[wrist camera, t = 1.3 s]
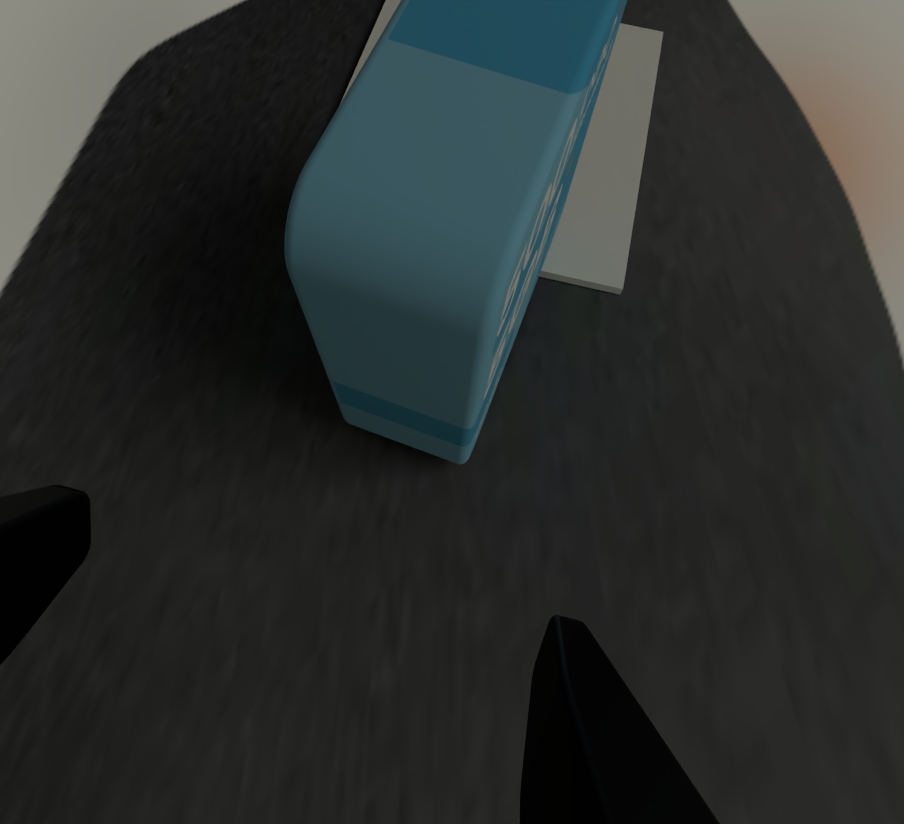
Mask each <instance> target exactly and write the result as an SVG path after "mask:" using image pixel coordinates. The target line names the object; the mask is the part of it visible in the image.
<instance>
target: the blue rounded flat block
mask: <svg viewBox="0 0 904 824" xmlns="http://www.w3.org/2000/svg"><path fill="white" fill-rule="evenodd" d="M626 2H627V0H401V1H400V3H399V5H398V7H397V8H396V10H395V12H394V13H393V15H392V17H391V19H390V20H389V22H388V24H387V25H386V27H385V29H384V31H383V32H382V34H381V36H380V37H379V39H378V41H377V42H376V44H375V46H374V48H373V49H372V51H371V53H370V54H369V56H368V58H367V60H366V61H365V63H364V65H363V66H362V68H361V70H360V71H359V73H358V75H357V77H356V78H355V80H354V82H353V83H352V85H351V87H350V89H349V90H348V92H347V94H346V95H345V97H344V99H343V100H342V102H341V104H340V106H339V107H338V109H337V111H336V112H335V114H334V116H333V118H332V119H331V121H330V123H329V124H328V126H327V128H326V129H325V131H324V133H323V135H322V136H321V138H320V140H319V141H318V143H317V145H316V147H315V148H314V150H313V152H312V153H311V155H310V157H309V158H308V160H307V162H306V164H305V166H304V167H303V169H302V171H301V174H300V176H299V178H298V180H297V183H296V186H295V188H294V191H293V195H292V198H291V201H290V205H289V209H288V214H287V220H286V227H285V239H284V251H285V261H286V266H287V270H288V273H289V276H290V279H291V281H292V284H293V286H294V289H295V292H296V294H297V297H298V300H299V302H300V305H301V308H302V310H303V313H304V315H305V318H306V321H307V323H308V326H309V329H310V331H311V334H312V337H313V339H314V342H315V344H316V347H317V350H318V352H319V355H320V358H321V360H322V363H323V366H324V368H325V371H326V373H327V376H328V379H329V381H330V384H331V387H332V389H333V392H334V394H335V397H336V400H337V402H338V405H339V408H340V410H341V413H342V416H343V418H344V420H345V421H346V422H347V423H349V424H351V425H354V426H356V427H359V428H362V429H365V430H367V431H370V432H373V433H375V434H378V435H381V436H384V437H386V438H389V439H392V440H394V441H397V442H400V443H402V444H405V445H408V446H411V447H413V448H416V449H419V450H421V451H424V452H427V453H429V454H432V455H435V456H438V457H440V458H443V459H446V460H448V461H451V462H454V463H456V464H463V463H465V462H466V461H467V460H468V459H469V457H470V455H471V452H472V450H473V448H474V445H475V443H476V440H477V438H478V435H479V432H480V430H481V427H482V424H483V422H484V419H485V416H486V414H487V411H488V409H489V406H490V403H491V401H492V398H493V395H494V393H495V390H496V388H497V385H498V382H499V380H500V377H501V374H502V372H503V369H504V366H505V364H506V361H507V359H508V356H509V353H510V351H511V348H512V345H513V343H514V340H515V337H516V335H517V332H518V330H519V327H520V324H521V322H522V319H523V316H524V314H525V311H526V308H527V306H528V303H529V301H530V298H531V295H532V293H533V290H534V287H535V285H536V282H537V280H538V277H539V274H540V272H541V269H542V266H543V264H544V261H545V258H546V256H547V253H548V251H549V248H550V245H551V243H552V240H553V237H554V234H555V232H556V229H557V226H558V223H559V220H560V217H561V214H562V211H563V208H564V205H565V202H566V199H567V196H568V192H569V189H570V186H571V182H572V179H573V176H574V173H575V169H576V166H577V163H578V159H579V156H580V153H581V150H582V146H583V143H584V140H585V137H586V133H587V130H588V127H589V123H590V120H591V117H592V114H593V110H594V107H595V104H596V100H597V97H598V94H599V91H600V87H601V84H602V81H603V77H604V74H605V71H606V68H607V64H608V61H609V58H610V54H611V51H612V48H613V45H614V41H615V38H616V35H617V32H618V28H619V25H620V22H621V18H622V15H623V12H624V9H625V5H626Z"/></svg>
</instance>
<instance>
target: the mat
mask: <svg viewBox="0 0 904 824" xmlns="http://www.w3.org/2000/svg"><path fill="white" fill-rule="evenodd" d="M400 1H401V0H386V1H385V3H384V5H383V8H382V10H381V12H380V15H379V17H378V19H377V21H376V24H375V26H374V28H373V30H372V33H371V35H370V37H369V40H368V42H367V44H366V46H365V49H364V51H363V53H362V55H361V58H360V60H359V62H358V65H357V67H356V69H355V71H354V74H353V76H352V78H351V80H350V83H349V85H348V87H347V90H346V92H345V94H344V96H343V99H344V97H345V95H346V94H347V92H348V90H349V89H350V87H351V85H352V83H353V82H354V80H355V78H356V77H357V75H358V73H359V71H360V70H361V68H362V66H363V65H364V63H365V61H366V60H367V58H368V56H369V54H370V53H371V51H372V49H373V48H374V46H375V44H376V42H377V41H378V39H379V37H380V36H381V34H382V32H383V31H384V29H385V27H386V25H387V24H388V22H389V20H390V19H391V17H392V15H393V13H394V12H395V10H396V8H397V7H398V5H399V3H400ZM662 37H663V32H660V31H656V30H651V29H646V28H641V27H636V26H631V25H626V24H621V23H620V25H619V28H618V32H617V35H616V38H615V41H614V45H613V48H612V51H611V54H610V58H609V61H608V64H607V68H606V71H605V74H604V77H603V81H602V84H601V87H600V91H599V94H598V97H597V100H596V104H595V107H594V110H593V114H592V117H591V120H590V123H589V127H588V130H587V133H586V137H585V140H584V143H583V146H582V150H581V153H580V156H579V159H578V163H577V166H576V169H575V173H574V176H573V179H572V182H571V186H570V189H569V192H568V196H567V199H566V202H565V205H564V208H563V211H562V214H561V217H560V220H559V223H558V226H557V229H556V232H555V234H554V237H553V240H552V243H551V245H550V248H549V251H548V253H547V256H546V258H545V261H544V264H543V266H542V269H541V272H540V274H539V277H544V278H548V279H553V280H557V281H561V282H566V283H570V284H575V285H579V286H584V287H588V288H592V289H597V290H601V291H606V292H610V293H614V294H619V295H620V294H621V292H622V290H623V285H624V279H625V272H626V266H627V260H628V253H629V247H630V241H631V234H632V228H633V222H634V215H635V209H636V202H637V196H638V190H639V183H640V177H641V171H642V164H643V158H644V152H645V145H646V139H647V133H648V126H649V120H650V113H651V107H652V101H653V94H654V88H655V82H656V75H657V69H658V63H659V56H660V50H661V43H662ZM343 99H342V100H343ZM341 102H342V101H341ZM340 104H341V103H340ZM339 106H340V105H339Z"/></svg>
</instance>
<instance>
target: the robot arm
mask: <svg viewBox="0 0 904 824" xmlns="http://www.w3.org/2000/svg"><path fill="white" fill-rule="evenodd" d="M90 544H91V521H90V499H89V497H88V495H87V494H86V493H85V492H83V491H80V490H77V489H73V488H69V487H65V486H61V485H52V486H47V487H43V488H38V489H34V490H29V491H25V492H21V493H16V494H12V495H7V496H3V497H0V665H1V664H2V663H3V661H4V660H5V659H6V658H7V657H8V656H9V655H10V654H11V652H12V651H13V650H14V649H15V648H16V646H17V645H18V644H19V643H20V642H21V640H22V639H23V638H24V637H25V635H26V634H27V633H28V632H29V630H30V629H31V628H32V626H33V625H34V624H35V623H36V621H37V620H38V619H39V617H40V616H41V615H42V614H43V612H44V611H45V610H46V608H47V607H48V606H49V605H50V603H51V602H52V601H53V600H54V598H55V597H56V596H57V594H58V593H59V592H60V591H61V589H62V588H63V587H64V585H65V584H66V583H67V582H68V580H69V579H70V578H71V576H72V575H73V574H74V573H75V571H76V570H77V569H78V568H79V566H80V565H81V564H82V562H83V561H84V559H85V558H86V556H87V554H88V551H89V549H90ZM520 824H720V823H719V822H718V820H717V819H716V817H715V816H714V814H713V813H712V811H711V810H710V808H709V807H708V805H707V804H706V802H705V801H704V799H703V798H702V797H701V795H700V794H699V792H698V791H697V789H696V788H695V786H694V785H693V783H692V782H691V780H690V779H689V777H688V776H687V774H686V773H685V771H684V770H683V768H682V767H681V765H680V764H679V762H678V761H677V760H676V758H675V757H674V755H673V754H672V752H671V751H670V749H669V748H668V746H667V745H666V743H665V742H664V740H663V739H662V737H661V736H660V734H659V733H658V731H657V730H656V728H655V727H654V725H653V724H652V722H651V721H650V720H649V718H648V717H647V715H646V714H645V712H644V711H643V709H642V708H641V706H640V705H639V703H638V702H637V700H636V699H635V697H634V696H633V694H632V693H631V691H630V690H629V688H628V687H627V685H626V684H625V682H624V681H623V680H622V678H621V677H620V675H619V674H618V672H617V671H616V669H615V668H614V666H613V665H612V663H611V662H610V660H609V659H608V657H607V656H606V654H605V653H604V651H603V650H602V648H601V647H600V645H599V644H598V643H597V641H596V640H595V638H594V637H593V635H592V634H591V632H590V631H589V629H588V628H587V626H586V625H585V624H584V623H583V622H581V621H578V620H575V619H571V618H567V617H563V616H559V615H555V616H553V617H552V618H551V619H550V621H549V623H548V626H547V629H546V632H545V635H544V638H543V641H542V644H541V647H540V650H539V653H538V656H537V659H536V662H535V666H534V670H533V676H532V684H531V693H530V703H529V712H528V722H527V731H526V740H525V750H524V759H523V769H522V780H521V793H520Z"/></svg>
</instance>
